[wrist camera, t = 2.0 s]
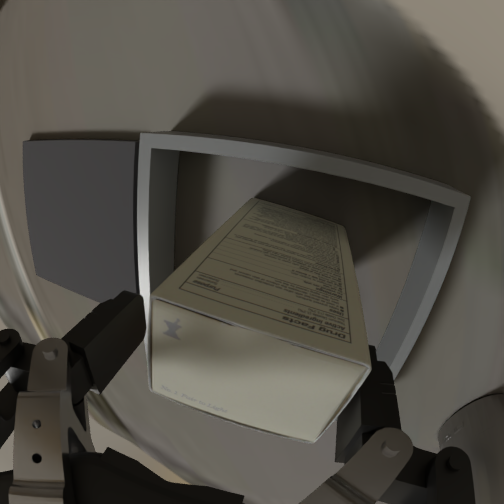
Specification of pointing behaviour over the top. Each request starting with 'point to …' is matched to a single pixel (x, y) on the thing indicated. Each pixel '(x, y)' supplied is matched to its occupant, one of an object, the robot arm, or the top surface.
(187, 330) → the skincare box
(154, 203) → the parts bin
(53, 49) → the top surface
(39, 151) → the place mat
